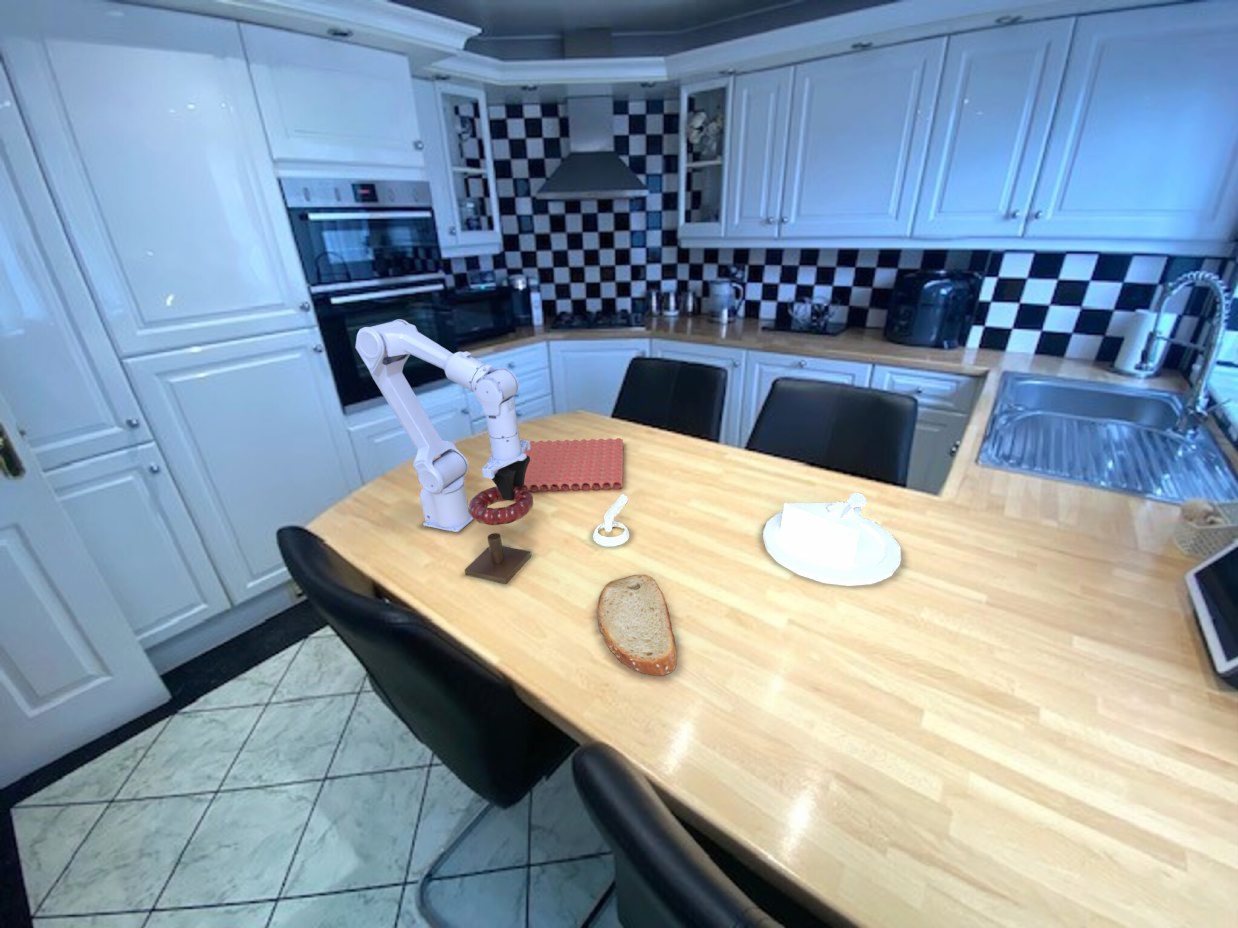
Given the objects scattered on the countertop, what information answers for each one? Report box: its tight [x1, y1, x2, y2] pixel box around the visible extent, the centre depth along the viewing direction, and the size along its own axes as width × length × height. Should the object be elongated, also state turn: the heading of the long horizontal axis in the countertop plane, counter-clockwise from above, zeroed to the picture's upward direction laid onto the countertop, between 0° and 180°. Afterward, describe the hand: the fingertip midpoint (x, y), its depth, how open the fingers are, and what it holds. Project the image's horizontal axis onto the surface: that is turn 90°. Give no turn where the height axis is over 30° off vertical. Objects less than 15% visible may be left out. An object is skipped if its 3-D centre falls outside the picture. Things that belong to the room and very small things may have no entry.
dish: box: [762, 492, 902, 587], centre depth 97 cm, size 25×25×11 cm
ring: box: [468, 485, 534, 527], centre depth 100 cm, size 12×12×3 cm
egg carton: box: [524, 437, 624, 493], centre depth 136 cm, size 28×28×2 cm
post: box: [464, 532, 532, 585], centre depth 96 cm, size 9×9×7 cm
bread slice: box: [596, 574, 678, 677], centre depth 81 cm, size 18×18×4 cm
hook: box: [592, 493, 631, 547], centre depth 103 cm, size 8×12×7 cm
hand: (513, 494), depth 104 cm, fingers closed on ring, 3 cm apart
